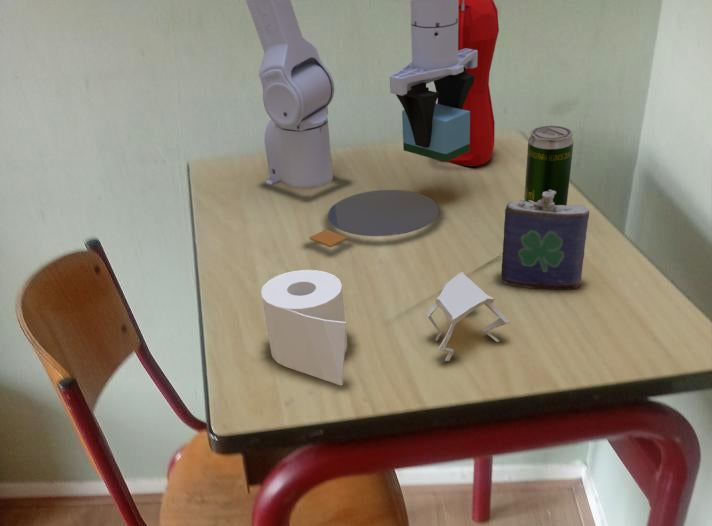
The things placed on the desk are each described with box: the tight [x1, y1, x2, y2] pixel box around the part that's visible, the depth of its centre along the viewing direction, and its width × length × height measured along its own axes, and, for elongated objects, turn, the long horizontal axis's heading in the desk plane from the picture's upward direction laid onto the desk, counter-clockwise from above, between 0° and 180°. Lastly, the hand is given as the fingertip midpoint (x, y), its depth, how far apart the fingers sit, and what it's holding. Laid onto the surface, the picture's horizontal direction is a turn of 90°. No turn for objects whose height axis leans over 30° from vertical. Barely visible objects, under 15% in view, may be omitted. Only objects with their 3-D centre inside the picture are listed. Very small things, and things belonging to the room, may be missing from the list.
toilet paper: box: [260, 269, 348, 387], centre depth 83 cm, size 8×11×7 cm
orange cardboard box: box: [308, 229, 348, 248], centre depth 103 cm, size 4×3×1 cm
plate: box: [327, 189, 440, 237], centre depth 109 cm, size 15×15×1 cm
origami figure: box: [426, 271, 511, 362], centre depth 85 cm, size 12×8×5 cm
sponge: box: [401, 103, 470, 163], centre depth 105 cm, size 8×5×5 cm, turn 47°
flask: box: [501, 190, 590, 290], centre depth 90 cm, size 9×3×11 cm, turn 74°
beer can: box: [523, 125, 574, 206], centre depth 100 cm, size 5×5×12 cm
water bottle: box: [436, 0, 500, 167], centre depth 115 cm, size 9×11×25 cm
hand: (435, 140), depth 106 cm, fingers closed on sponge, 5 cm apart
